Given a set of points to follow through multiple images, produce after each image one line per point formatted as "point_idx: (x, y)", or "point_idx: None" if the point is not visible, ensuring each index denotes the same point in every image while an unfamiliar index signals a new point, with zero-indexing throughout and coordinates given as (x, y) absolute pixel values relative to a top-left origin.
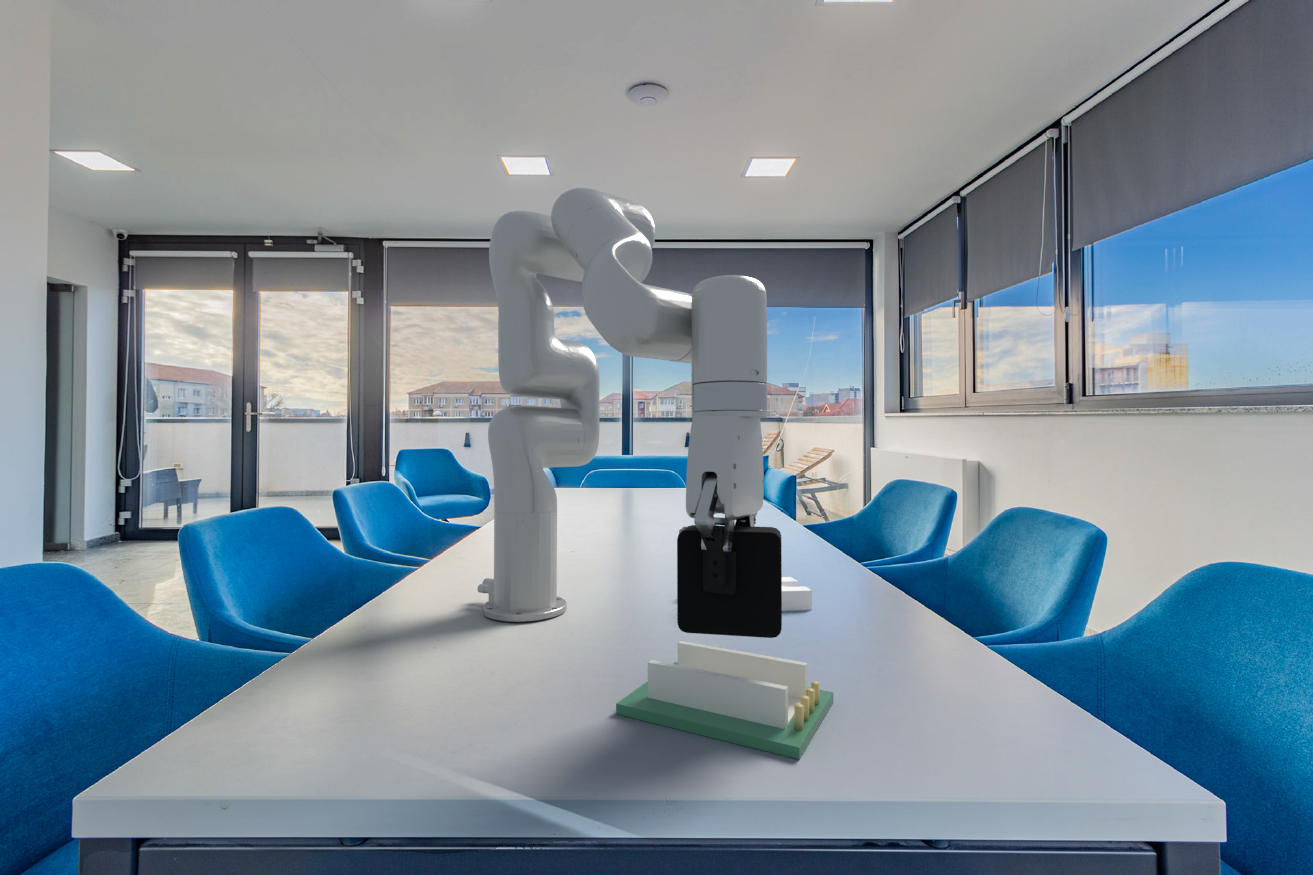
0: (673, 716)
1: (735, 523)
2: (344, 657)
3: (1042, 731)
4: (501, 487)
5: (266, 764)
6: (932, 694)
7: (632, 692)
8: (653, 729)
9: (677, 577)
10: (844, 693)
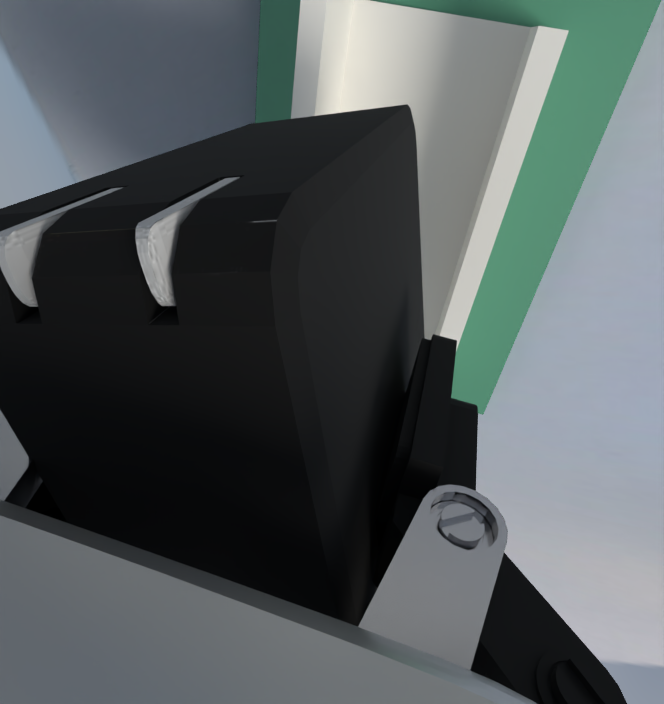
0: (260, 110)
1: (483, 641)
2: None
3: None
4: None
5: None
6: (554, 542)
7: None
8: (243, 62)
9: (155, 157)
10: (535, 424)
